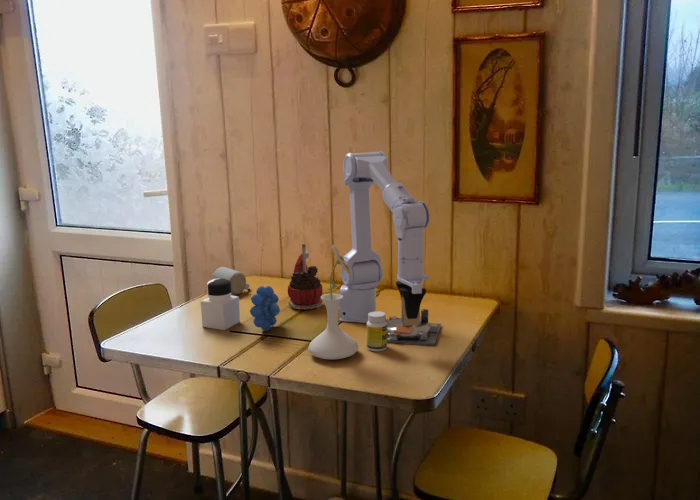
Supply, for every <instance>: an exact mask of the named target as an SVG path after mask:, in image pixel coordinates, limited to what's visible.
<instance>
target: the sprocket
mask: <svg viewBox="0 0 700 500" xmlns="http://www.w3.org/2000/svg"><path fill="white" fill-rule="evenodd" d="M388 320H389V321H387V334H388V335H390V339H393V340H398V339H399V338H418V339H419V340H425V339H427V335H428V334H429V333H430V332H438V325H437V324H438V323H437V324H430V323H431V322H429V309H428V308H427V309H426V308H423V309H420V325H407V326H404V324H403V322H402V317H398V316H397V315H393V316H389V319H388Z"/></svg>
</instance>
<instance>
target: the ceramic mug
mask: <svg viewBox="0 0 700 500" xmlns="http://www.w3.org/2000/svg"><path fill="white" fill-rule="evenodd" d="M213 279H227V280H229V281H230V282H231V296H237V295H240V294H241V293H242V292H244V290H245V289H246V290H249V288H250V287H251V286H250V284H249V283H247V279H246V276H245V274H243V273H242V272H241V271H238V270H235V269H233V268H230V267H225V266H220V267H218V268H216V270H215V271H214V272H213V274H212V277H211V280H213Z"/></svg>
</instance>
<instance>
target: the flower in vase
mask: <svg viewBox="0 0 700 500" xmlns="http://www.w3.org/2000/svg"><path fill="white" fill-rule="evenodd" d="M331 250H332V252H333V254H334V256H335V257H336V260H335V263H334V265H333V268H332V270H331V272H330V276H329V277H328V278H329V288H328V289H327V291H329V292H330V293H326V294H323V295H322V296H321V300H322V301H323V304H324V305H325V308H326V312H327V313H326V314H327V315H326V316H327V326H326V328H325V329H324V330H323V331H322V332H320V334H318V335H317V336H315V338H313V339H312V340H311V342H310V343H309V345H308V348H307V349H308V351H309V353H310V354H311V355H312V356H313V357H315V358H320V359H322V360H330V361H331V360H332V361H333V360H341V359H345V358H348V357H351V356H353V355H355V354H356V352H358V350H359V345H358V343H357V341H356V340H355V339H354V338H353V337H351V336H350V335H349V334H347V333H346V332H345V331H343V330H342V329H341V328H340V326H339V322H338V321H339V318H338V312H339V304H340V301H341V300H342V298H343V295H340V293H333V291H332V290H334V289H336V288H338V285H337V284H335V282H334V280H333V275H334V271H335V269H336V268H337V265H340V266H341V268H342V267H343V268H344V270H345V271H346V272H347V273H348V274H349V275H350V274H351V273H352V272H351V271H350V270H349V269H350V268H349V266H348V265H347V264H346V263H345V262H344V258H343V257H344V256H343V255H340V252H339V248H338V247H336V244H332V245H331Z"/></svg>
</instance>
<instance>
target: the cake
mask: <svg viewBox="0 0 700 500" xmlns="http://www.w3.org/2000/svg"><path fill="white" fill-rule="evenodd" d="M301 248H302V249H301V253H300V255H299V256H298V257H297V260H296V262H295V264H294V269H293V272H292V275H291V276H290V277H291V280H290V281H289V284H288V286H287V295H288V298H290V299H289V302H288V306H289V307H291V308H292V309H295V310H296V309H297V310H303V309H304V310H312V309H315V308H316V309H317V308H319V307H322V306H323V304H324V301H323V300H322V299H321V296H322V295H324V293H323V285H322V283H321V280H320V279H319V278H318V277H316V276H317V274H318V273H319V272H318V267H317V266H315V265H310V266H308V264H307V259H309V257H310V253H309V252H308V251H306V250H307V249H306V248H307V247H306V243H302V244H301Z"/></svg>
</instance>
